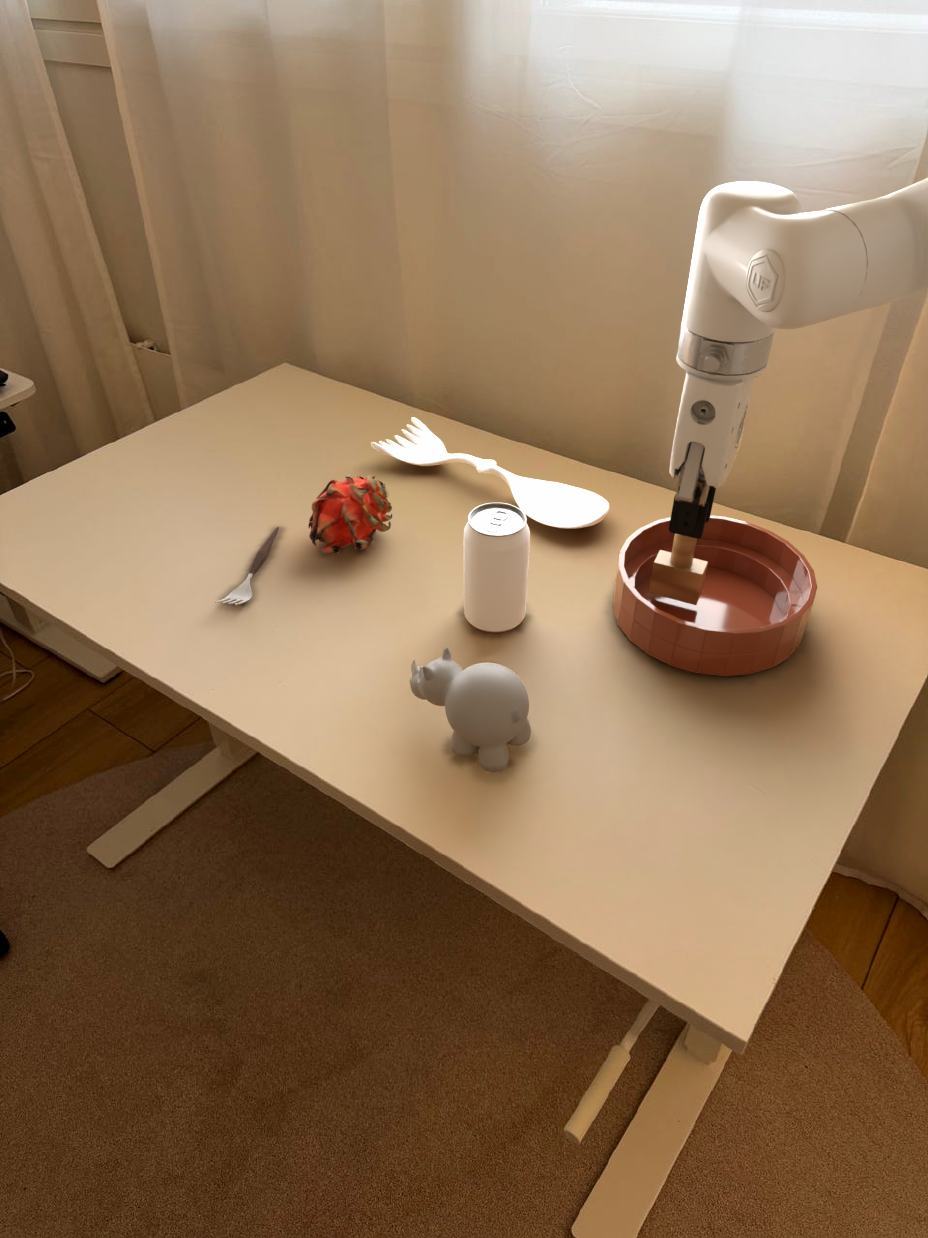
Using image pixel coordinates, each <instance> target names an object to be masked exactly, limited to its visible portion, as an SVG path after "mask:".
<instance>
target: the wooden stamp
mask: <svg viewBox="0 0 928 1238" xmlns="http://www.w3.org/2000/svg"><path fill="white" fill-rule="evenodd" d="M702 485H703V483H699V482H697V485H696V486H698V487H701V490H702ZM696 542H697V539H696V538H692V537H688V536H683V535H679V534H675V536H674V542H673V547H672V552H667V551H663V550H660V551H659V553H658V555H657V557H656V559H655V561H654V564H653V570H652V576H651V582H650V588H649V593H651V594H655V595H659V596H662V597H666V598H670V599H674V600H678V601H681V602H685V603H689V604H693V605H697V602H698V600H699V598H700V595H701V593H702V588H703V584H704V579H705V575H706V570H707V565H708V562H707V561H703V560H699V559H695V558H693V557H694V552H695V547H696Z"/></svg>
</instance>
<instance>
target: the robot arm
mask: <svg viewBox="0 0 928 1238" xmlns="http://www.w3.org/2000/svg"><path fill="white" fill-rule="evenodd" d="M694 237H695V238H694V243H693V251H692V256H691V257H692V258H691V263H690V269H689V276H688V282H687V289H686V293H685V302H684V307H683V314H682V319H681V324H680V332H679V338H678V345H677V350H676V355H675V356H676V358H675V360H676V363H677V365H678V366H679V367H680V368H681V369H682V370H684V371H686V372H685V377H684V382H683V387H682V392H681V396H680V397H681V398H680V403H679V407H678V413H677V419H676V424H675V429H674V435H673V441H672V445H671V446H672V448H671V454H670V460H669V461H670V462H669V474H670V475H669V476H671V477H672V478H673V479H676V478H677V477H678V480H677V485H676V491H675V494H674V497H673V502H672V508H671V513H670V517H671V519H670V524H669V531H670V532H671V533H675V534H679V535H683V536H688V537H692V538H696V539H700V538H701V537H702V534H703V531H704V526H705V523H706V522H708V521H709V518H710V515H712V514H711V513H712V510H713V505H714V500H715V496H716V490H717V489H718V488H720V487H722V486H723V485H724V484H725V482H726V481H727V479H728V477H729V475H730V472H731V470H732V468H733V465H734V463H735V460H736V458H737V456H738V453H739V452H740V448H741V445H742V442H743V437H744V432H745V431H744V430H745V426H746V421H747V420H746V419H747V415H748V410H749V405H750V399H751V393H752V390H753V383H754V379H755V378H758V377H759V376H761V375H762V374H764V372H766V369H767V365H768V361H769V357H770V352H771V349H772V345H773V340H774V335H775V332H776V329H779V330H786V331H787V330H797V329H801V328H805V327H809V326H813V325H816V324H820V323H823V322H826V321H830V320H833V319H837V318H838V317H839V318H840V317H842V316H846V315H849V314H853V313H857V312H861V311H863V310H867V309H872V308H875V307H880V306H883V305H886V304H887V305H888V304H890V303H893V302H897V301H900V300H903V299H906V298H908V297H912V296H915V295H918V294H921V293H924V292H927V291H928V177H926V178H924V179H922V180H919V181H917V182H915V183H912V184H911V185H908V186H905V187H903V188H901V189H898V190H896V191H893V192H891V193H889V194H885V195H883V196H879V197H876V198H873V199H868V200H862V201H856V202H852V203H848V204H843V205H838V206H834V207H830V208H824V209H820V210H816V211H808V212H807V211H806V212H802V206H801V202H800V200H799V198H798V196H797V195H796V194H795V193H794V192H793V191H792V190H790V189H788V188H785V187H783V186H781V185H777V184H773V183H769V182H765V181H764V182H763V181H749V180H746V181H745V180H743V181H741V180H740V181H731V182H727V183H723V184H719V185H717V186H715V187H714V188H711V190H710V191H708V193H707V194H706V195H705V197H704V198H703V200H702V203H701V205H700V210H699V213H698V219H697V225H696V232H695V236H694ZM697 482H699V483H703V485H702V490H701V487H698V486H696V485H697Z"/></svg>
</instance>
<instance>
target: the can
mask: <svg viewBox="0 0 928 1238" xmlns="http://www.w3.org/2000/svg"><path fill="white" fill-rule="evenodd" d="M527 521H528V520H527V515H526V514H525V513H524V512H523V511H522V510H521V509H520V507H517V506H515V505H513V504H510V503H505V502H488V503H484V504H480V505H477V506H476V507H474V508H472V510H471V511H469V513H468V516H467V522H466V524H465V526H464V529H463V546H462V547H463V550H462V551H463V558H462V559H463V561H462V562H463V563H462V564H463V566H462V567H463V568H462V569H463V571H462V573H463V574H462V575H463V614H464V617H465V619H466V621H467V622H468V623H469V624H470V625H472V626H473V627H474V628H476V629H477V630H480V631H482V632H487V633H494V634H495V633H496V634H497V633H505V632H508V631H511V630H513V629H514V628H516V627H518V626H519V625H520V624H521V623H522V622H523V621H524V619H525V617H526V612H527V599H528V585H529V564H530V549H531V548H530V547H531V530H530V527H529V525H528V522H527Z"/></svg>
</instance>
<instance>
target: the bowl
mask: <svg viewBox="0 0 928 1238" xmlns="http://www.w3.org/2000/svg"><path fill="white" fill-rule="evenodd" d="M670 519H671V516H670V517H665V518H660V519H656V520H654V521H652V522H650V523H648V524H646V525H644V526H641V527H639V528H637V530H635V531H634V532H633V533H631V535H629V536H628V537H627V538H626V540H625V541H624V543H623V545H622V546H621V549H620V550H619V553H618V559H617V565H616V566H617V567H616V573H615V580H614V589H613V598H612V610H613V614H614V616H615V619H616V622H617V625H618V626H619V628H620V629H621V631H622V632H623V633H624V634H625V636H626V637H627V639H629V641H630V642H631V643H632V644H634V645H635V646H637V648H639V649H640V650H642V651H643V652H644V653H645V654H646V655H648V656H650V657H652V658H654V659H657V660H659V661H661V662H663V663H665V664H666V665H668V666H671V667H674V668H677V669H682V670H683V671H688V672H691V673H694V674H700V675H710V676H717V677H718V676H719V677H731V676H747V675H748V676H749V675H752V674H756V673H759V672H762V671H766V670H770V669H772V668H774V667H776V666H777V665H779V664H781V663H783V662H784V661H786V660H787V659H789V658H790V657H791V656H792V654H793V653H794V652H795V651H796V649H797V648H798V647H799V645H800V644H801V642H802V639H803V635H804V632H805V630H806V627H807V623H808V621H809V617H810V615H811V611H812V609H813V605H814V602H815V598H816V594H817V591H818V584H817V583H818V582H817V578H816V573H815V569H814V568H813V567H812V565H811V564H810V562H809V561H808V559H807V557H806V556H805V555H804V554H803V553H802V552H801V551H800V550H799V549H798V548H797V547H796V546H794V545H793V544H792V543H791V541H789V540H787V539H785V538H783V537H781V536H780V535H778V534H777V533H775V532H774V531H771V530H769V529H767V528H764V527H762V526H759V525H757V524H754V523H751V522H749V521H745V520H741V519H737V518H732V517H728V516H724V515H723V516H722V515H712V514H711V515H710V518H709V521H708V522H706V523H705V526H704V531H703V534H702V537H701V538H700V539H697V542H696V547H695V552H694V557H693V558H695V559H699V560H703V561H707V562H708V565H707V570H706V575H705V579H704V584H703V588H702V593H701V595H700V598H699V600H698V602H697V605H693V604H689V603H685V602H681V601H678V600H674V599H670V598H666V597H662V596H659V595H655V594H651V593H649V588H650V582H651V576H652V570H653V564H654V561H655V559H656V557H657V555H658V553H659V551H660V550H663V551H667V552H672V547H673V542H674V536H675V533H671V532H670V531H669V524H670Z"/></svg>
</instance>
